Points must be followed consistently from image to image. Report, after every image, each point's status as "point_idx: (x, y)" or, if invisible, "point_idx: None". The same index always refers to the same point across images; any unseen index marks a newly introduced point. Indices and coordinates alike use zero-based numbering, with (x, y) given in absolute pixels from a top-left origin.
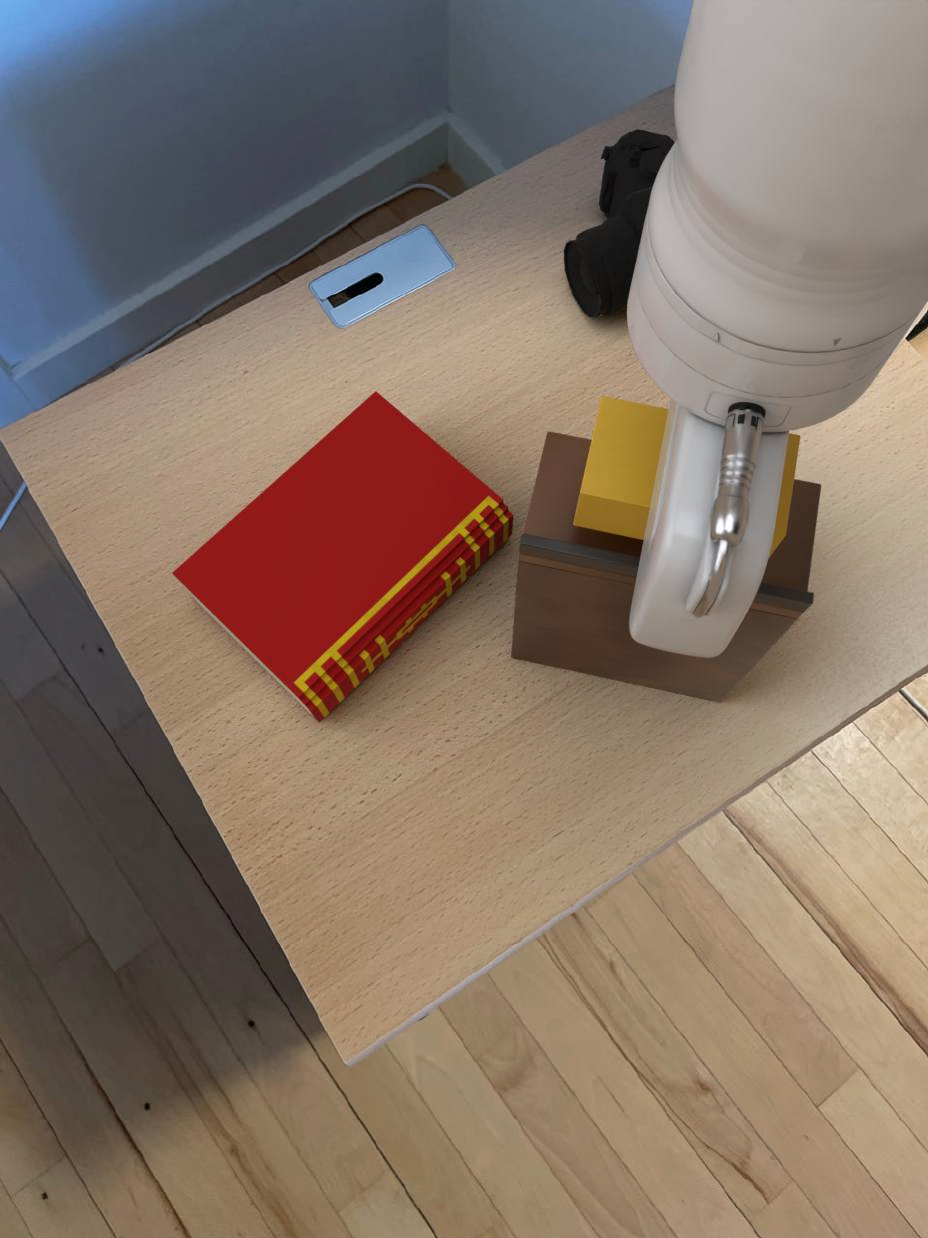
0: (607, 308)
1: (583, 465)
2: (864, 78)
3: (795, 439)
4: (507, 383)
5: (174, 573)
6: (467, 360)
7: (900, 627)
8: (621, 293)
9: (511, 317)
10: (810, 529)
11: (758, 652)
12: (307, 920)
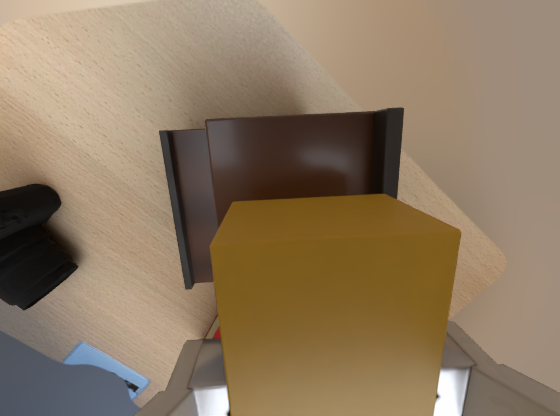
0: (66, 264)
1: None
2: None
3: (225, 254)
4: (146, 294)
5: None
6: (140, 318)
7: (225, 6)
8: (49, 264)
9: (100, 304)
10: (274, 123)
11: None
12: (459, 299)
